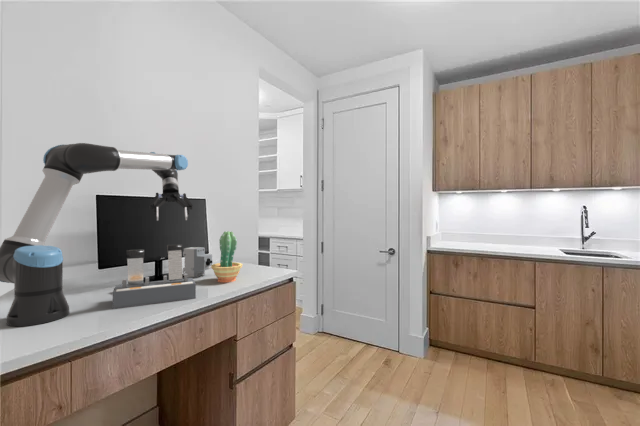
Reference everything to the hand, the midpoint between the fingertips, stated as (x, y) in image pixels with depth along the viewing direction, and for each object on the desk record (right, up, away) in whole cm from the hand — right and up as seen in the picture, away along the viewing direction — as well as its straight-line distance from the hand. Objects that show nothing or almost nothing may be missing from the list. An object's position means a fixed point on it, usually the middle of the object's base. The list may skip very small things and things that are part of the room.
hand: (172, 218), depth 145 cm
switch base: (+5, -32, -23) cm, 40 cm away
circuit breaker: (+5, -32, +20) cm, 38 cm away
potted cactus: (+23, -32, +10) cm, 41 cm away
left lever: (-1, -25, -27) cm, 37 cm away
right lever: (+11, -25, -20) cm, 34 cm away
